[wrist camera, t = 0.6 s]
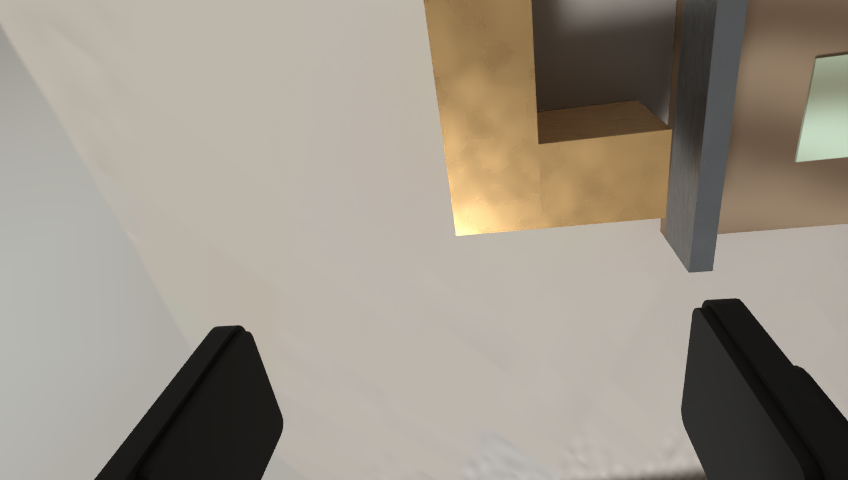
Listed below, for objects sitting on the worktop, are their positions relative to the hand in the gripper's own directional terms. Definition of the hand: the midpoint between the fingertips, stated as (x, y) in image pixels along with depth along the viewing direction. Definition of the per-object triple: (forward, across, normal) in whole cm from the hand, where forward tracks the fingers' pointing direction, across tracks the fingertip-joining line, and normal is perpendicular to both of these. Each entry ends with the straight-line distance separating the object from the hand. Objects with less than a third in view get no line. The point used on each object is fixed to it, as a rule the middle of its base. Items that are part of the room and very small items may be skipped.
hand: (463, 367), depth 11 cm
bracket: (+21, -4, -2) cm, 22 cm away
